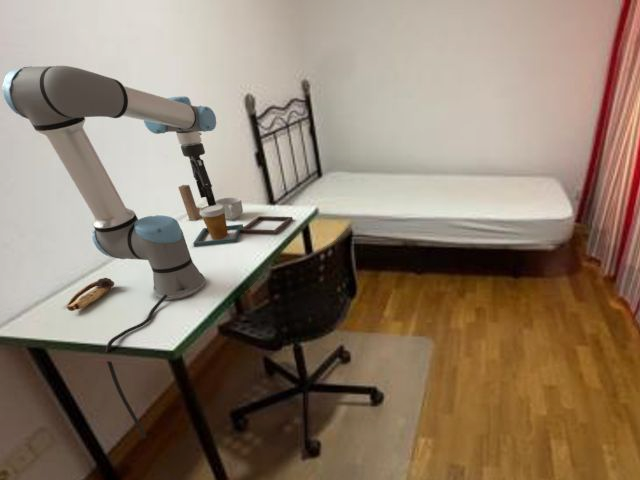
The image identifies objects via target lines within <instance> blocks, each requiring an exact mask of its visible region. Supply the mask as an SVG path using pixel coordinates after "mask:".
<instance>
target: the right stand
mask: <svg viewBox="0 0 640 480" xmlns="http://www.w3.org/2000/svg"><path fill="white" fill-rule="evenodd" d="M261 221H266V222H267V221H268V222H269V221H270V222H271V221H273V222H275V221H276V222H282V223H280V224H279V225H278V226H277V227H276V228H275V229H258V228H257V229H256V228H255V229H252V228H253V227H254V226H255V225H257V224H258V223H259V222H261ZM293 221H294V218H293V216H275V215H274V216H269V215H268V216H267V215H258V216H256V217H255V218H254V219H253V220H251V221H250V222H249V223H247V224H246V225H245V226H243V228H242V229H240V233H241V234H247V235H250V234H251V235H277V234H279V233H280V232H281V231H283V229H285V228H286V227H287V226H288V225H290V223H291V222H293Z"/></svg>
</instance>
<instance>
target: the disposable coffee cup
mask: <svg viewBox="0 0 640 480" xmlns="http://www.w3.org/2000/svg"><path fill="white" fill-rule="evenodd" d="M200 208H201V209H200V213H199V214H200V215H201V216H202V217H201V218H202V220H203V223H204V224H205V228H207V229H208V231H209V232H208V233H209V235H210V237H211V240H219V239H227V237H228V236H229V232H228V231H229V230H227V226H228V224H227V220H226V219H225V208H223V206H222V205H212V206H208V205H206V206H203V207H200Z"/></svg>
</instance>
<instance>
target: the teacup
mask: <svg viewBox="0 0 640 480" xmlns="http://www.w3.org/2000/svg"><path fill="white" fill-rule="evenodd" d="M215 202H216V205H222V206H223V208H225V219H226V221H227V220H228V221H229V220H232V221H233V220H237V219H239V218H240V217H241V216H242V215H243V212H244V209H243V204H242V203H243V202H242V199H241V197H224V198H219V199H217V200H215Z"/></svg>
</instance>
